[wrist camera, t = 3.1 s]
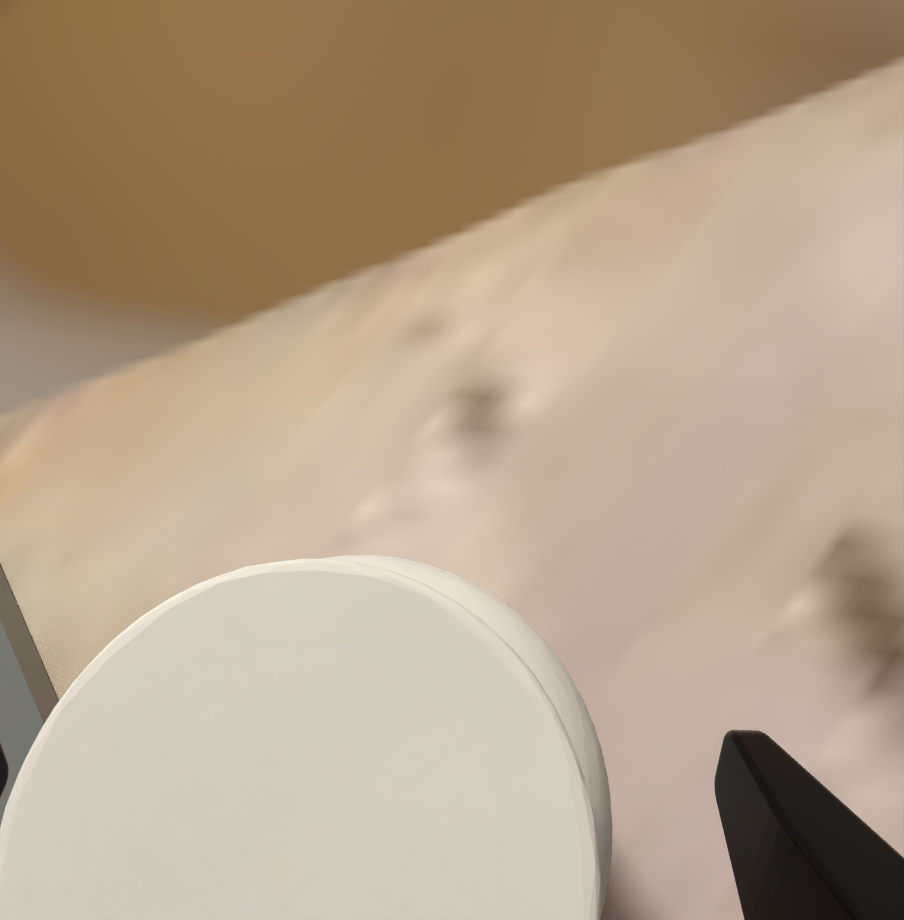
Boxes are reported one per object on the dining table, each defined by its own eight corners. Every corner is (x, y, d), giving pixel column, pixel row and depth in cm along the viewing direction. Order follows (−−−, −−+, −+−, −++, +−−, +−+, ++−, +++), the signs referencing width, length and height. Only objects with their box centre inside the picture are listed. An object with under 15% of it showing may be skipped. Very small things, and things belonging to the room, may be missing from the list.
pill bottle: (250, 662, 17) (-123, 563, 6) (500, 598, 17) (563, 402, 6) (293, 957, 15) (-159, 1594, 4) (576, 877, 15) (850, 1259, 4)
